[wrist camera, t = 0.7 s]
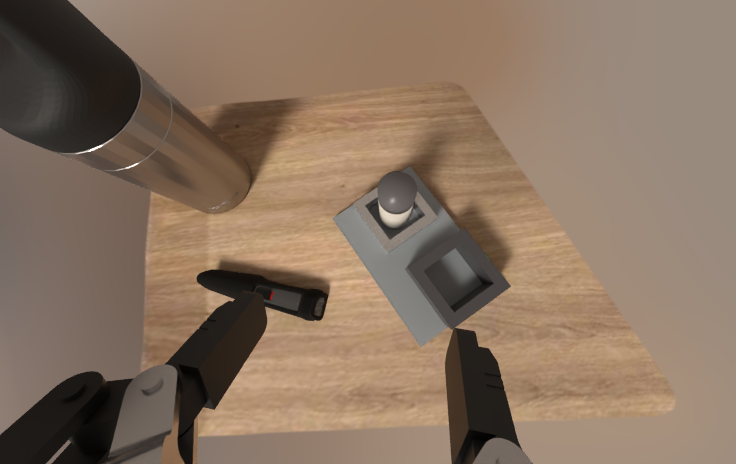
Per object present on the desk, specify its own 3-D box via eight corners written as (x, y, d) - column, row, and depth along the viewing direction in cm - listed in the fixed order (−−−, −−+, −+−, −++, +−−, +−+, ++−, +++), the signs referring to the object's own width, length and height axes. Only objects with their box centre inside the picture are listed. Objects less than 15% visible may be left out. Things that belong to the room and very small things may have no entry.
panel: (334, 220, 36) (332, 218, 35) (409, 168, 36) (409, 165, 35) (419, 345, 32) (420, 346, 31) (501, 285, 33) (504, 285, 32)
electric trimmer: (217, 263, 36) (201, 260, 33) (329, 291, 34) (323, 292, 31) (207, 291, 36) (190, 292, 32) (321, 322, 34) (314, 326, 31)
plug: (373, 212, 35) (369, 185, 25) (397, 196, 35) (401, 163, 25) (390, 235, 34) (392, 216, 25) (414, 218, 34) (425, 193, 25)
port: (405, 269, 33) (407, 268, 30) (458, 232, 33) (466, 226, 30) (444, 324, 32) (452, 329, 28) (499, 284, 32) (513, 284, 29)
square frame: (355, 209, 35) (352, 203, 32) (400, 178, 35) (401, 170, 33) (387, 254, 33) (387, 252, 31) (434, 222, 34) (437, 217, 31)
